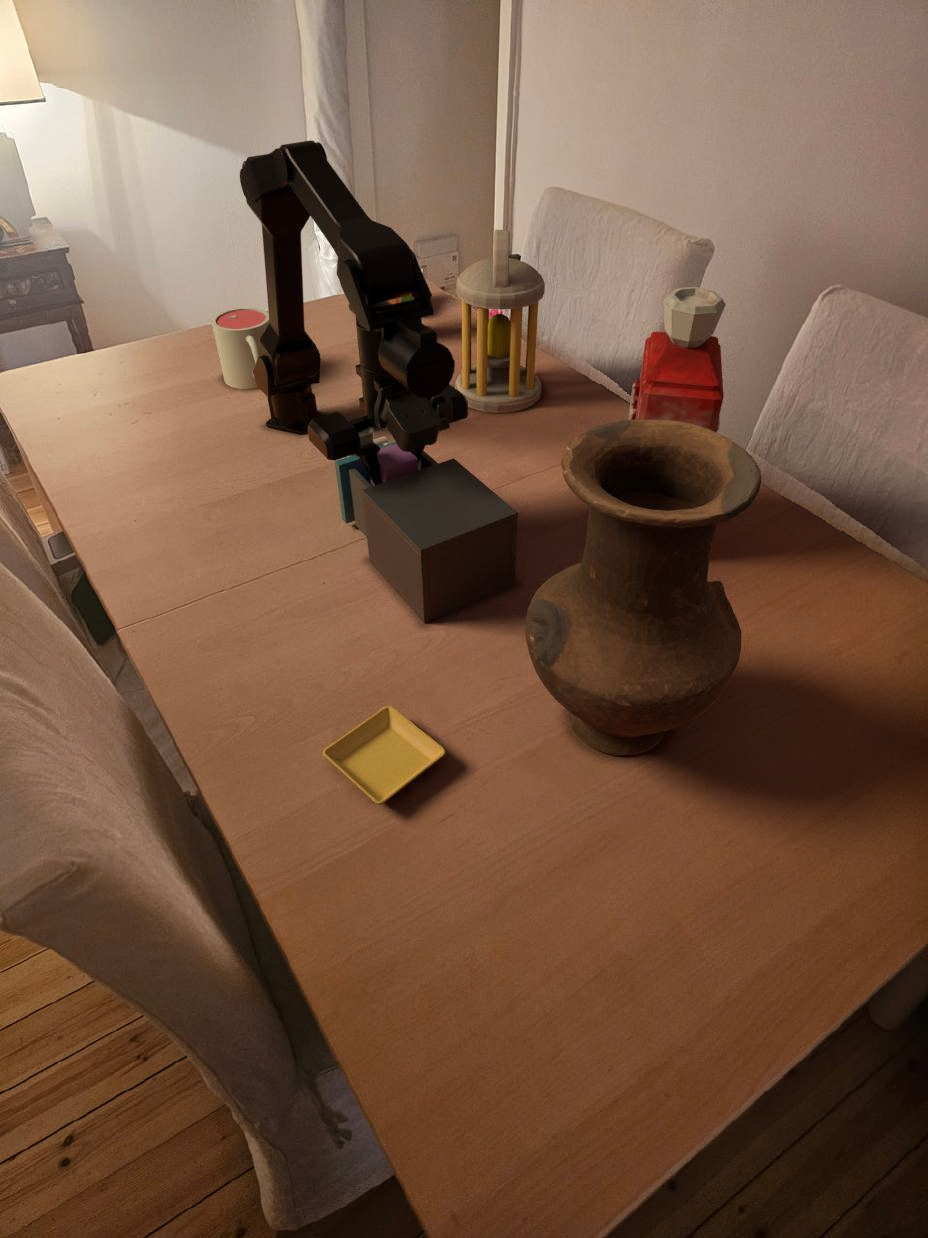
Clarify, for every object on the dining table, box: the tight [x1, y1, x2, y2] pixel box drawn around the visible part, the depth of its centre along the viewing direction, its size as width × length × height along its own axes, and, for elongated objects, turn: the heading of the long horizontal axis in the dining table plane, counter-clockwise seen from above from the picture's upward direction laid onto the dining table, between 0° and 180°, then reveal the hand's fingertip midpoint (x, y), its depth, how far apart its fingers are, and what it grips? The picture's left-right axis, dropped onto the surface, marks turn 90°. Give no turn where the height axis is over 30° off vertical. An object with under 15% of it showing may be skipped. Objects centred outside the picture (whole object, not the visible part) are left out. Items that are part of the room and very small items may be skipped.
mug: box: [211, 306, 269, 390], centre depth 134 cm, size 14×9×10 cm
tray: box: [334, 435, 439, 538], centre depth 104 cm, size 17×11×9 cm
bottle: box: [627, 286, 727, 433], centre depth 97 cm, size 14×10×30 cm
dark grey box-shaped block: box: [362, 458, 519, 624], centre depth 97 cm, size 14×13×11 cm
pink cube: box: [371, 444, 418, 486], centre depth 101 cm, size 4×4×4 cm
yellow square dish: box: [322, 705, 447, 805], centre depth 78 cm, size 9×9×2 cm
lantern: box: [454, 229, 546, 414], centre depth 126 cm, size 14×14×25 cm
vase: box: [524, 419, 762, 756], centre depth 73 cm, size 19×19×30 cm
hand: (394, 479), depth 102 cm, fingers closed on pink cube, 4 cm apart
